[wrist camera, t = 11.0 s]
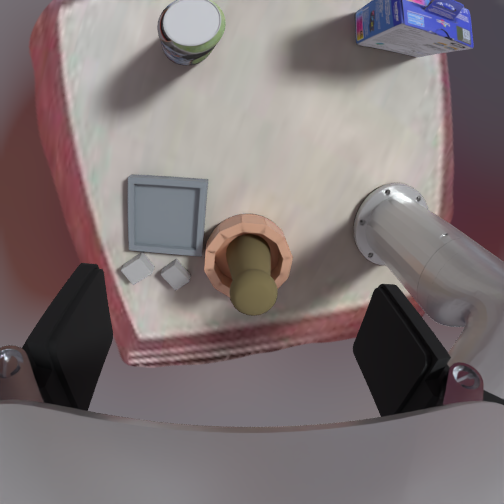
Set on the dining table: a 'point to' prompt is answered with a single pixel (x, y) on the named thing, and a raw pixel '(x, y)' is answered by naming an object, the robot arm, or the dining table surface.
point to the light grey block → (138, 268)
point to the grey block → (175, 274)
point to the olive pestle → (251, 275)
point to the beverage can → (190, 30)
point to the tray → (166, 214)
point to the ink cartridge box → (414, 26)
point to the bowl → (235, 227)
